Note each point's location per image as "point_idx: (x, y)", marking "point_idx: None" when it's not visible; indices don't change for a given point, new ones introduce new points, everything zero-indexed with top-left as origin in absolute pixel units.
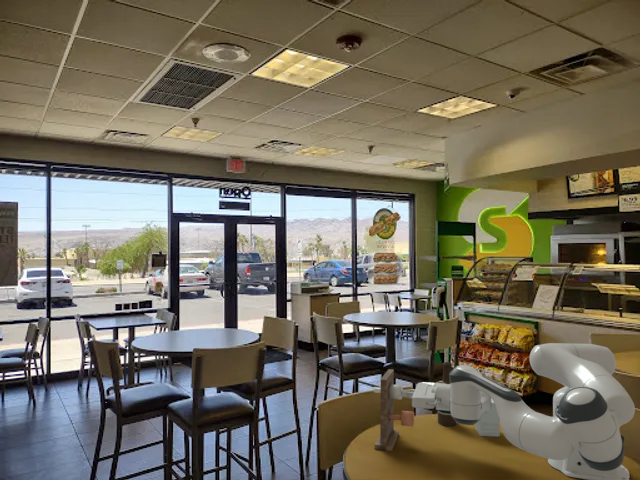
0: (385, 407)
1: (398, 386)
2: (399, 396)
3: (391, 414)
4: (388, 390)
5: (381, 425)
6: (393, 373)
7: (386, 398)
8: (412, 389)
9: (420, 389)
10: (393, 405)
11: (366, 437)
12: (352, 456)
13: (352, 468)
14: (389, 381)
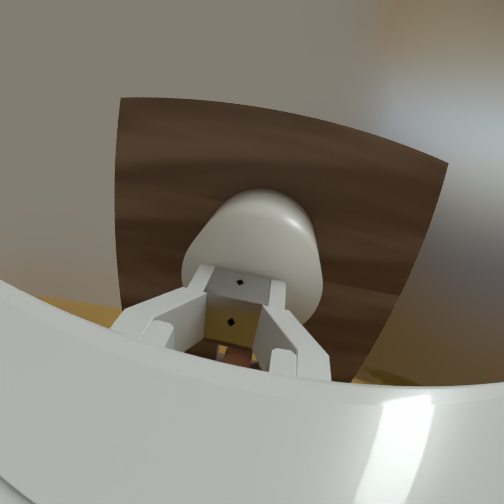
0: (119, 263)
1: (233, 210)
2: (187, 285)
3: (231, 361)
4: (192, 201)
5: None
6: (431, 185)
7: (121, 219)
8: (307, 354)
9: (190, 442)
10: (357, 366)
11: (251, 359)
12: (109, 314)
13: (50, 303)
14: (243, 152)
